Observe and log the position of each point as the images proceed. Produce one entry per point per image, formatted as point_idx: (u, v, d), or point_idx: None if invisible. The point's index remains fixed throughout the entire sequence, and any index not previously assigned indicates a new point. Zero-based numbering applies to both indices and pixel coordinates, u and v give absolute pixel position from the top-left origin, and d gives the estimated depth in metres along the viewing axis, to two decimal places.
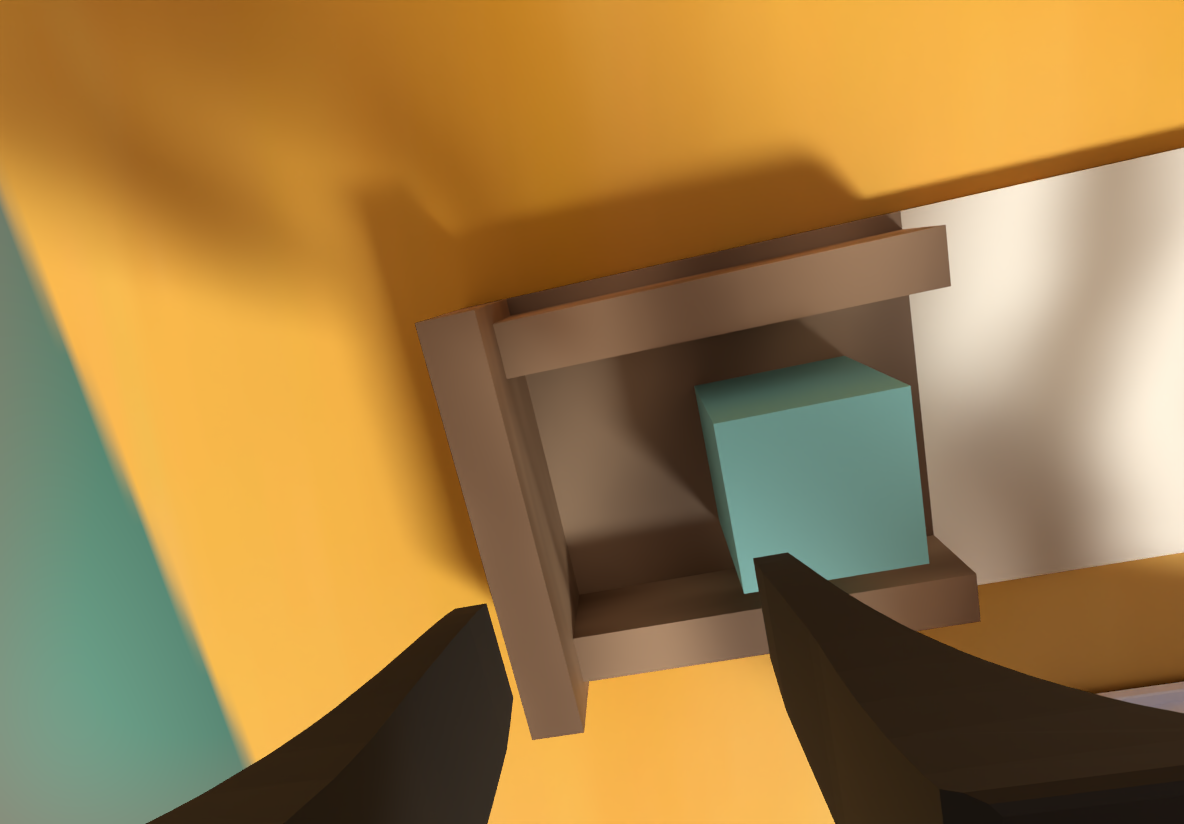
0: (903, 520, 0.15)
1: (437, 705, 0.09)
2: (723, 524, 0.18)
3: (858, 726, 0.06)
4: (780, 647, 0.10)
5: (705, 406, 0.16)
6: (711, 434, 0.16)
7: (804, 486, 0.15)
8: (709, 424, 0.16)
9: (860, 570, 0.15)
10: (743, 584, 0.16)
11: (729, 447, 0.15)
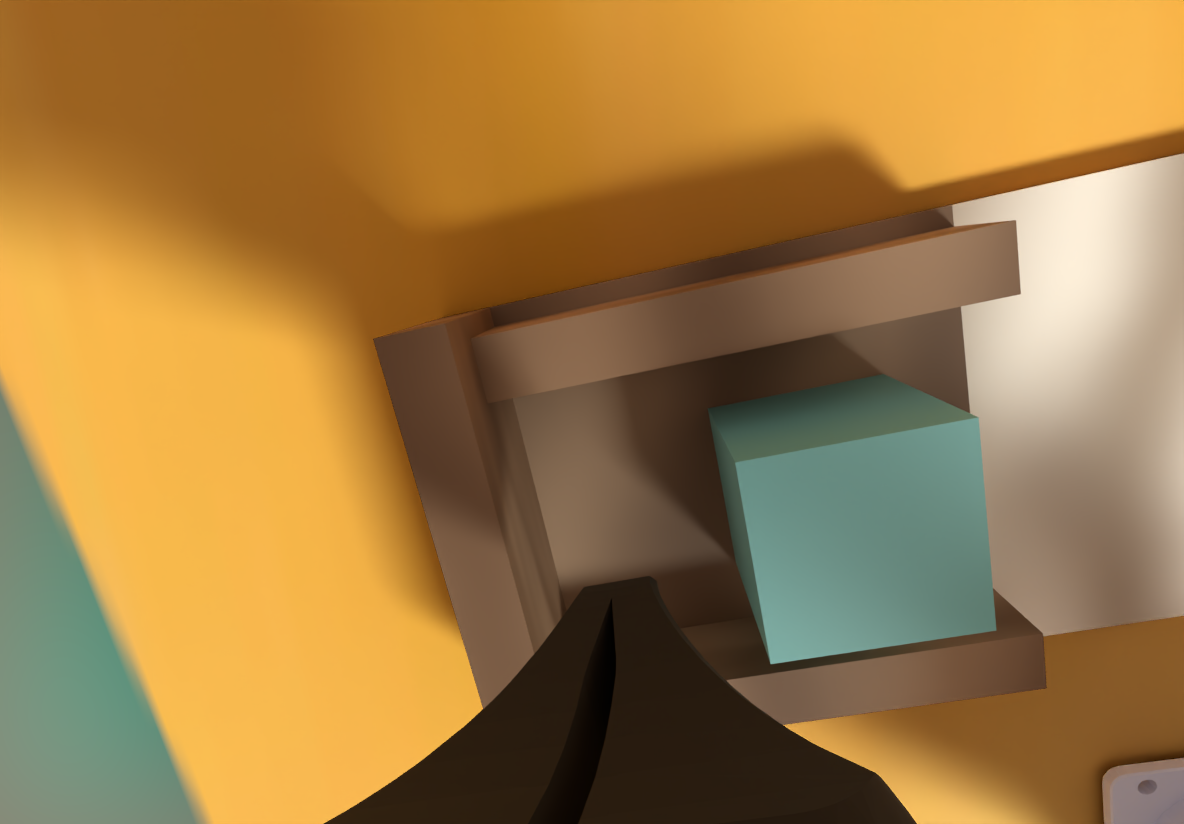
0: (966, 579, 0.12)
1: (603, 680, 0.09)
2: (742, 571, 0.16)
3: None
4: None
5: (723, 437, 0.14)
6: (731, 471, 0.13)
7: (846, 537, 0.12)
8: (728, 459, 0.13)
9: (912, 637, 0.13)
10: (770, 653, 0.13)
11: (754, 491, 0.12)
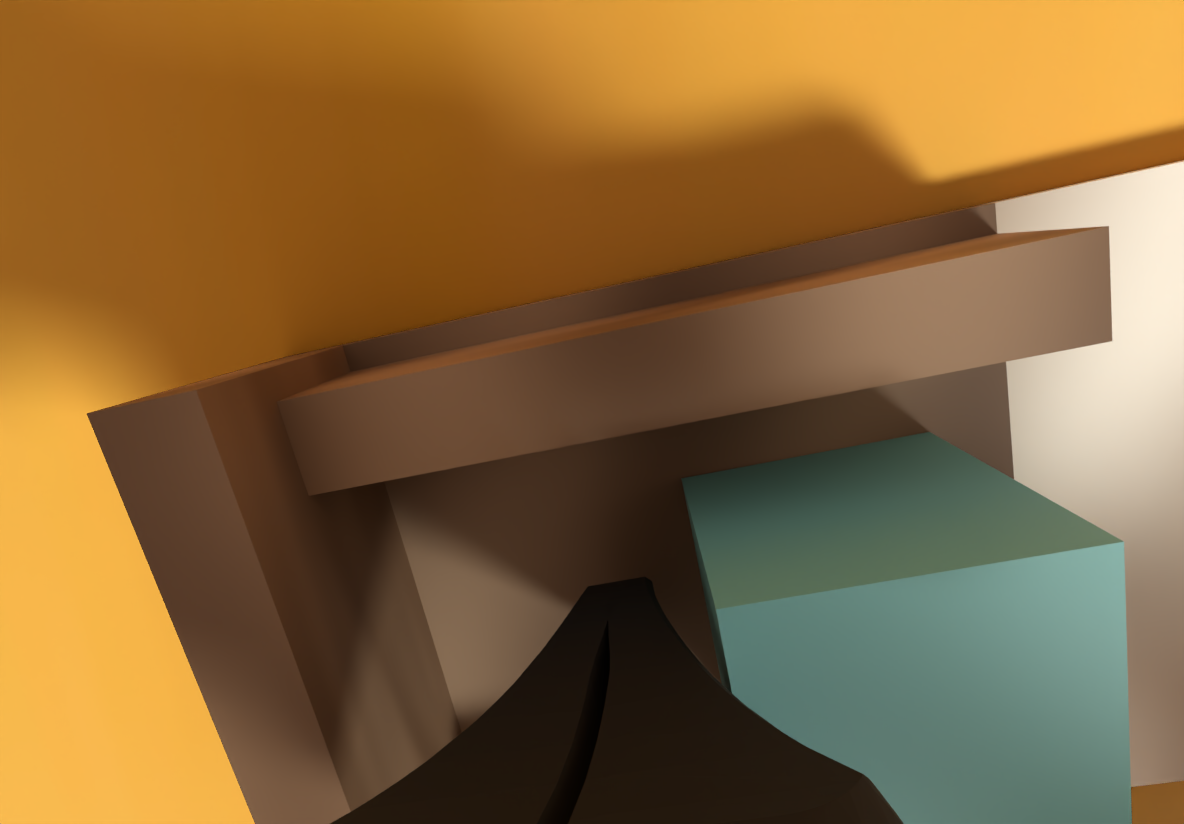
0: (1088, 790, 0.08)
1: (608, 679, 0.09)
2: None
3: None
4: None
5: (700, 542, 0.09)
6: (711, 602, 0.09)
7: (897, 725, 0.08)
8: (707, 584, 0.09)
9: None
10: None
11: (747, 653, 0.07)
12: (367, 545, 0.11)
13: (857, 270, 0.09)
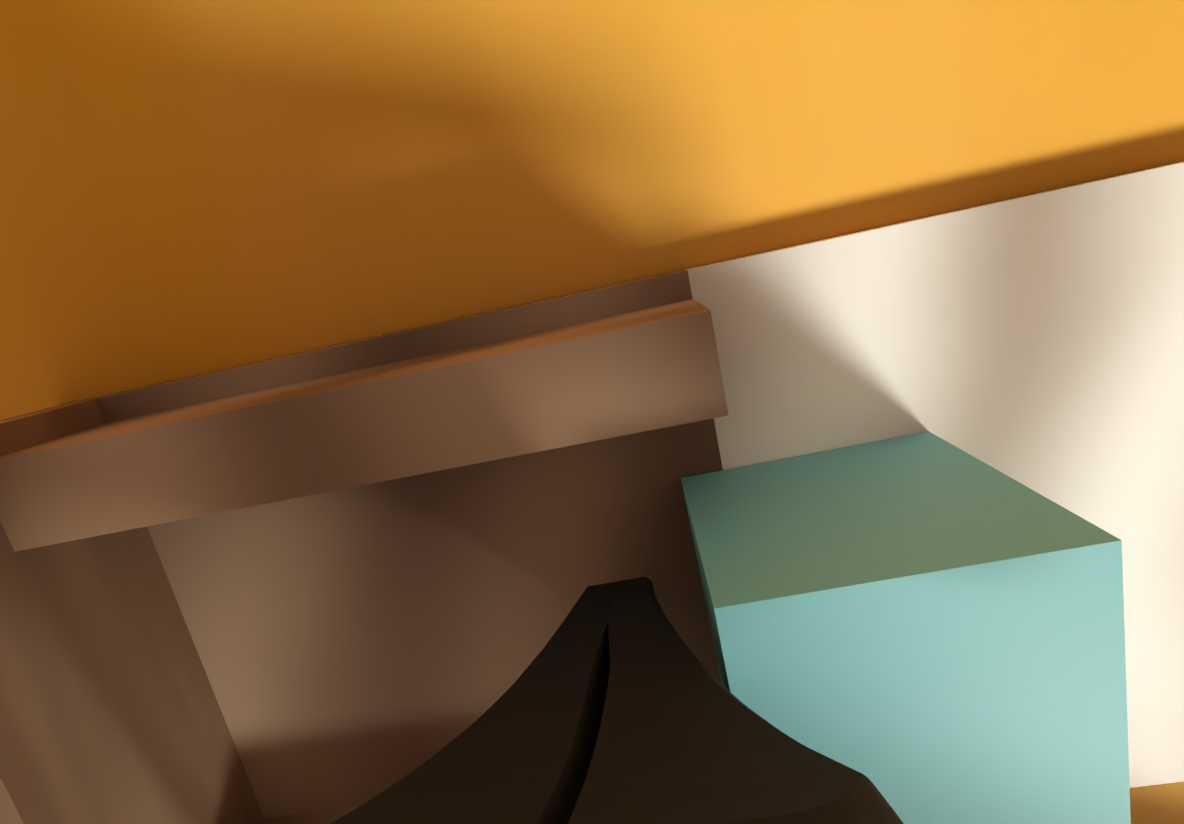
0: (1086, 789, 0.08)
1: (608, 679, 0.09)
2: None
3: None
4: None
5: (698, 541, 0.09)
6: (709, 602, 0.09)
7: (894, 724, 0.08)
8: (706, 583, 0.09)
9: None
10: None
11: (746, 652, 0.07)
12: (108, 591, 0.12)
13: (530, 340, 0.10)
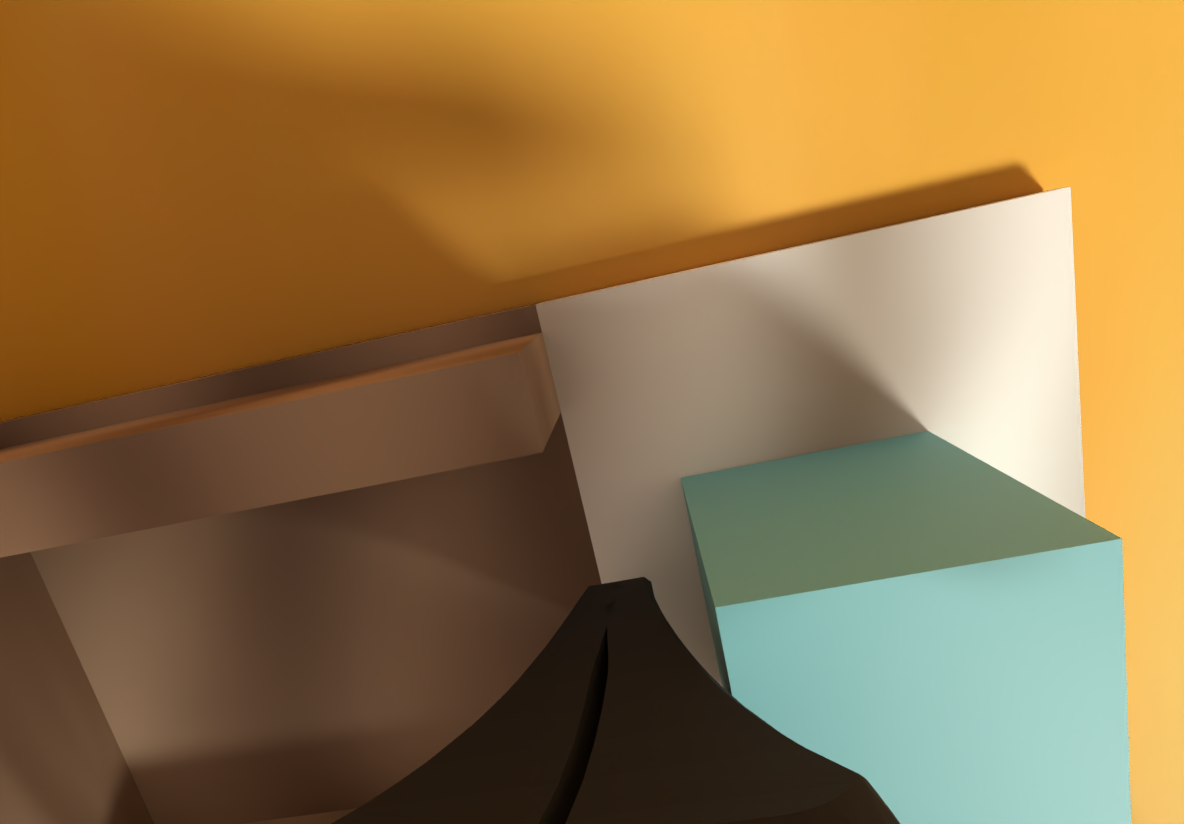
0: (1087, 787, 0.08)
1: None
2: None
3: None
4: None
5: (699, 541, 0.09)
6: (710, 601, 0.09)
7: (895, 723, 0.08)
8: (706, 582, 0.09)
9: None
10: None
11: (746, 651, 0.07)
12: None
13: (370, 375, 0.10)
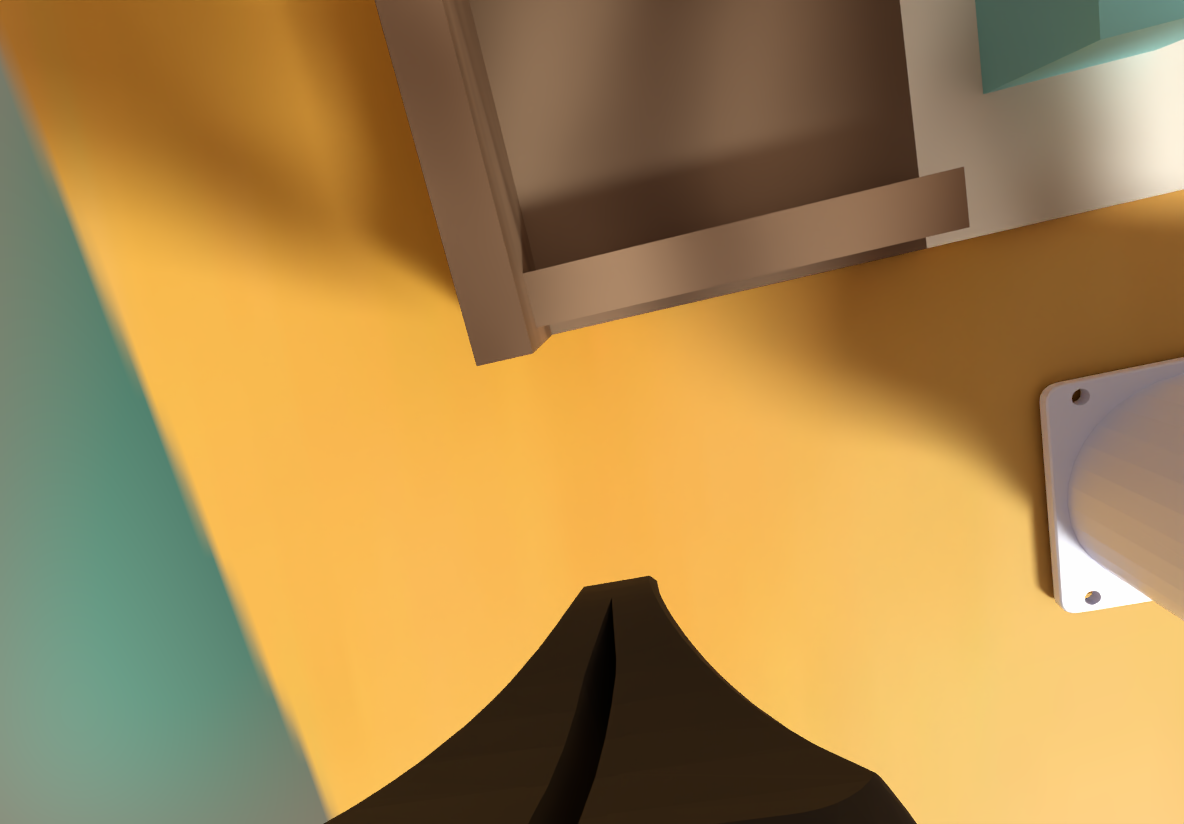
0: None
1: (603, 680, 0.09)
2: (1017, 51, 0.16)
3: None
4: None
5: None
6: None
7: None
8: None
9: None
10: (1101, 25, 0.13)
11: None
12: (467, 25, 0.17)
13: None
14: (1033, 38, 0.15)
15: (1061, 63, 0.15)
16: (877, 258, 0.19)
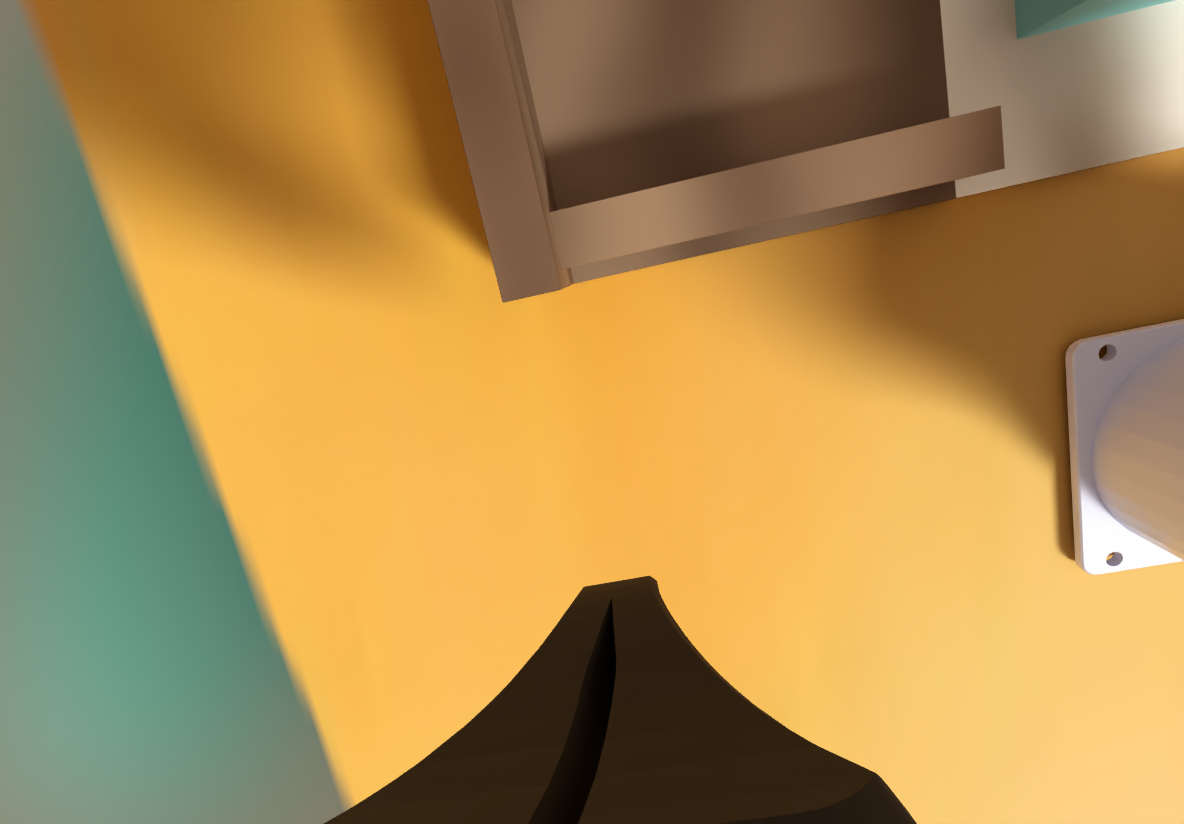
0: None
1: (603, 680, 0.09)
2: None
3: None
4: None
5: None
6: None
7: None
8: None
9: None
10: None
11: None
12: None
13: None
14: None
15: (1101, 0, 0.15)
16: (905, 208, 0.18)
